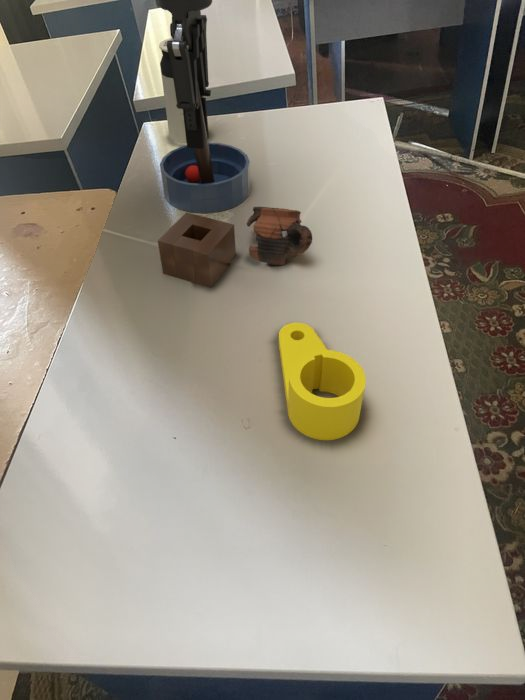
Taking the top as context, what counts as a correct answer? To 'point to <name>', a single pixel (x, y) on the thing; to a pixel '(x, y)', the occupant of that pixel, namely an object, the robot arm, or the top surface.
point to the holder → (197, 249)
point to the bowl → (209, 197)
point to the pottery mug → (278, 235)
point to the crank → (319, 384)
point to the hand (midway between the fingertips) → (198, 142)
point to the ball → (192, 174)
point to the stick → (204, 155)
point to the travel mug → (171, 98)
